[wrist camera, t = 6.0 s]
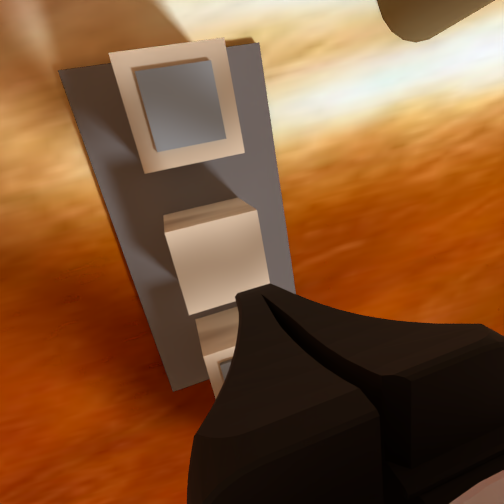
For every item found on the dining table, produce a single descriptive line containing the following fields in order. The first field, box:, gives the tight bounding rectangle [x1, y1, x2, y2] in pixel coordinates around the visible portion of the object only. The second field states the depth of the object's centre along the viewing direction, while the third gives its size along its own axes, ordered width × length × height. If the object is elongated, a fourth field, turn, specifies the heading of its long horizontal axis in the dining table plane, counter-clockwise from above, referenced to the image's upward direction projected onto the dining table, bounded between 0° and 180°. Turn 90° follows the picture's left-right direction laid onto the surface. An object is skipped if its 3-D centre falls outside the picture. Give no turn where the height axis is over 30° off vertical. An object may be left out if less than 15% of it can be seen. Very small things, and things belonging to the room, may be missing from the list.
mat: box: [58, 43, 296, 392], centre depth 19 cm, size 20×10×1 cm, turn 11°
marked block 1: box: [108, 38, 245, 174], centre depth 15 cm, size 4×4×4 cm
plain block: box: [163, 198, 270, 315], centre depth 17 cm, size 4×4×4 cm
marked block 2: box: [195, 307, 239, 398], centre depth 20 cm, size 4×4×4 cm
